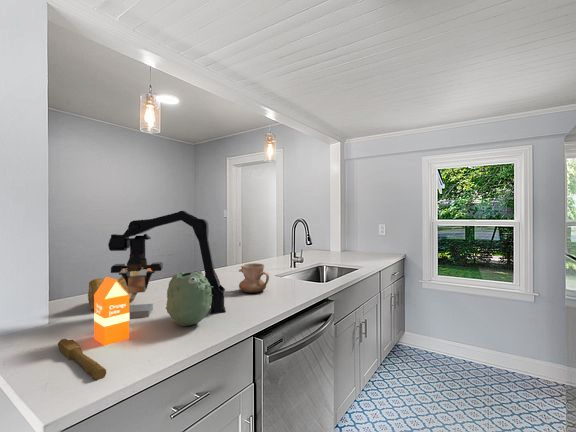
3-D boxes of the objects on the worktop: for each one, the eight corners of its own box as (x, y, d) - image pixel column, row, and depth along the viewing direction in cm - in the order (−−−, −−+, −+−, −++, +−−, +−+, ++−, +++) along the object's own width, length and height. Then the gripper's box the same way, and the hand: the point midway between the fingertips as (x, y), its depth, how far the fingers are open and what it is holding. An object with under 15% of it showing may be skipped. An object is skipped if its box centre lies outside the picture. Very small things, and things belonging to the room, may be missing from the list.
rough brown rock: (127, 297, 154) (125, 268, 154) (147, 299, 145) (145, 268, 146) (76, 311, 134) (73, 277, 134) (96, 314, 126) (93, 278, 126)
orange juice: (118, 331, 107) (118, 274, 107) (129, 338, 101) (129, 278, 101) (93, 338, 101) (93, 278, 101) (103, 346, 95) (103, 282, 95)
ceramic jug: (231, 292, 161) (231, 265, 161) (246, 286, 174) (246, 261, 174) (261, 297, 154) (261, 269, 153) (274, 290, 167) (274, 264, 167)
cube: (147, 288, 130) (147, 274, 130) (144, 292, 124) (144, 277, 124) (131, 289, 128) (131, 275, 128) (128, 293, 122) (128, 278, 122)
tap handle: (93, 370, 75) (55, 339, 94) (93, 383, 75) (56, 349, 94) (107, 365, 78) (67, 336, 96) (107, 377, 78) (67, 345, 96)
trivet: (148, 316, 123) (148, 310, 123) (121, 319, 120) (121, 312, 120) (152, 309, 132) (152, 303, 132) (127, 311, 130) (127, 305, 130)
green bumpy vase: (183, 314, 125) (183, 266, 125) (222, 321, 118) (222, 269, 118) (153, 328, 111) (153, 272, 110) (195, 336, 103) (195, 277, 103)
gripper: (106, 253, 116) (106, 294, 116) (159, 252, 121) (159, 291, 121) (114, 250, 127) (114, 288, 127) (163, 249, 131) (163, 285, 131)
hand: (137, 288), depth 126 cm, fingers closed on cube, 6 cm apart
